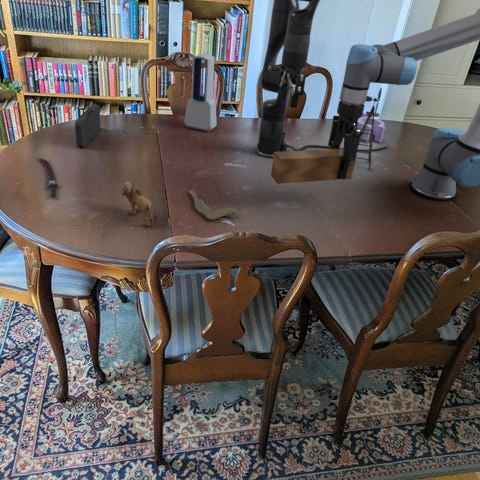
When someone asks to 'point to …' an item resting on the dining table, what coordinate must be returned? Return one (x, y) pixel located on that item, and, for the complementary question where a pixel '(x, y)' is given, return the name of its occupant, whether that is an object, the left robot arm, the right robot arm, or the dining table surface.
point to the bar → (308, 165)
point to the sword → (52, 181)
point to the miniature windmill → (372, 125)
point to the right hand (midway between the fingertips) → (336, 174)
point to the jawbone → (207, 211)
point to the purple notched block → (377, 127)
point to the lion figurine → (137, 201)
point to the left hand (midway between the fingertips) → (287, 103)
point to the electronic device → (200, 107)
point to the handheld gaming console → (87, 125)
